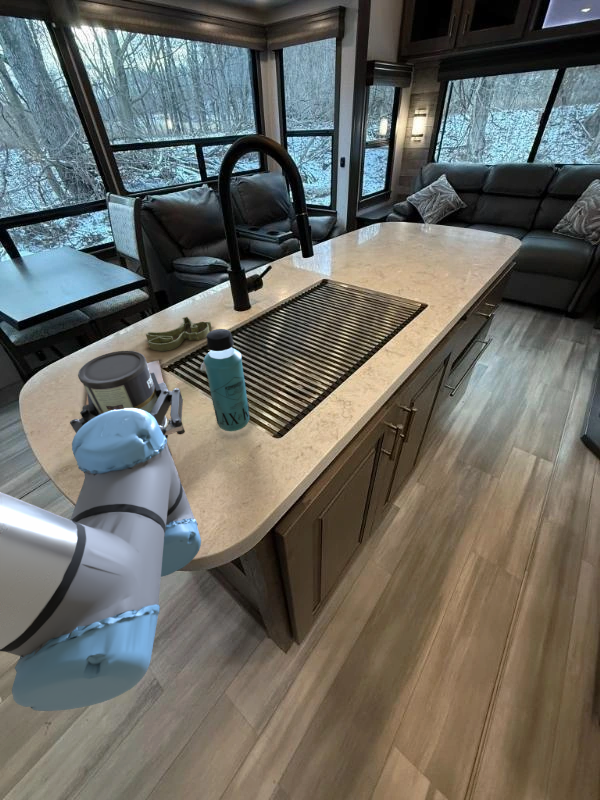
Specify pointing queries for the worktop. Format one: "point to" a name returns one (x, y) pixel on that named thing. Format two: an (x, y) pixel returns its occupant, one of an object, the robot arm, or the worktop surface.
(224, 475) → the worktop surface
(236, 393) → the beverage bottle
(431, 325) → the worktop surface
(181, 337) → the cookie cutter
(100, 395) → the coffee can
